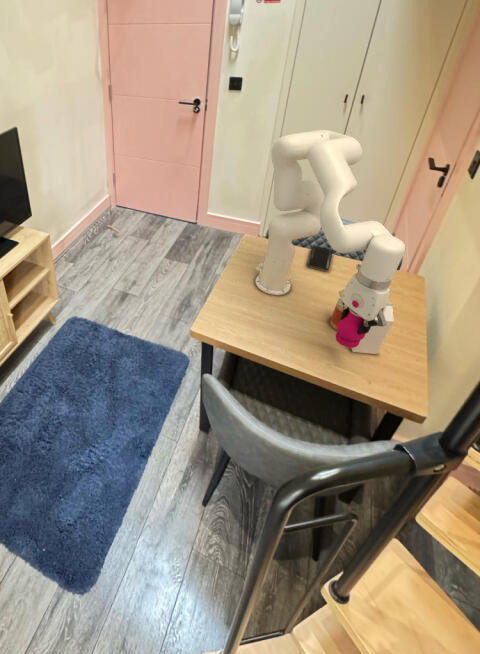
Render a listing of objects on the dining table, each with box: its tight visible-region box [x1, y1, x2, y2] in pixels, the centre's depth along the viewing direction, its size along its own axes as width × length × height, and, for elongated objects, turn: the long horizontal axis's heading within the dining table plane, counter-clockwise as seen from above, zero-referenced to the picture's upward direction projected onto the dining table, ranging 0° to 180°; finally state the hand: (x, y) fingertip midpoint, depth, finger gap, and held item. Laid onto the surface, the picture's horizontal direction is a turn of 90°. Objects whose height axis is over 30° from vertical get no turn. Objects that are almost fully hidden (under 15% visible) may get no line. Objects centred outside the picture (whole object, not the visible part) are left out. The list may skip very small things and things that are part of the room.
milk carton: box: [350, 302, 395, 355], centre depth 124 cm, size 7×7×19 cm
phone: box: [306, 245, 334, 272], centre depth 166 cm, size 8×1×15 cm
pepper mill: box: [334, 300, 365, 349], centre depth 115 cm, size 7×7×20 cm
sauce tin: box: [329, 297, 344, 331], centre depth 134 cm, size 7×7×10 cm
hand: (353, 325), depth 117 cm, fingers closed on pepper mill, 5 cm apart
